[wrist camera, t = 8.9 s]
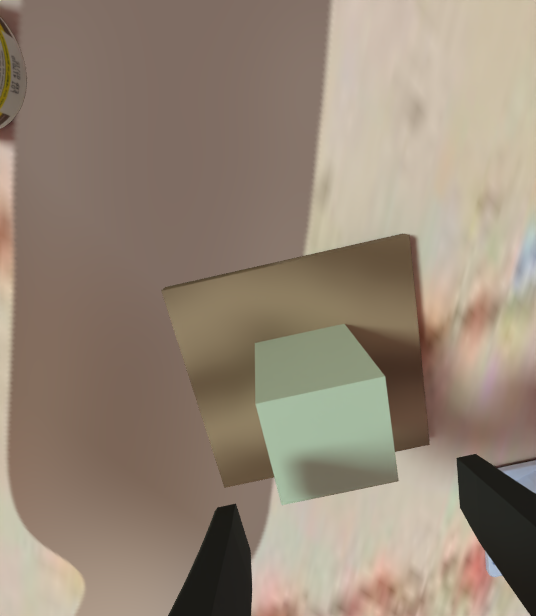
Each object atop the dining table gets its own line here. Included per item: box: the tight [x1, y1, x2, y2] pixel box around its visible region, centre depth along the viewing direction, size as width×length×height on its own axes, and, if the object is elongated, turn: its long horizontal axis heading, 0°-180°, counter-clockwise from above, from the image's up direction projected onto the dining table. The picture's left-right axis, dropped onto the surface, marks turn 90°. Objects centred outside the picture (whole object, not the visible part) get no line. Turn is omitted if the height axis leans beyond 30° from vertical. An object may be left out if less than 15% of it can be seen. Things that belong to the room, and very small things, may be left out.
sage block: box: [255, 324, 398, 505], centre depth 17 cm, size 5×5×6 cm
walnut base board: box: [162, 234, 430, 487], centre depth 20 cm, size 13×13×1 cm
